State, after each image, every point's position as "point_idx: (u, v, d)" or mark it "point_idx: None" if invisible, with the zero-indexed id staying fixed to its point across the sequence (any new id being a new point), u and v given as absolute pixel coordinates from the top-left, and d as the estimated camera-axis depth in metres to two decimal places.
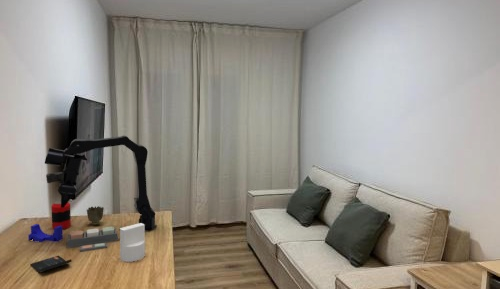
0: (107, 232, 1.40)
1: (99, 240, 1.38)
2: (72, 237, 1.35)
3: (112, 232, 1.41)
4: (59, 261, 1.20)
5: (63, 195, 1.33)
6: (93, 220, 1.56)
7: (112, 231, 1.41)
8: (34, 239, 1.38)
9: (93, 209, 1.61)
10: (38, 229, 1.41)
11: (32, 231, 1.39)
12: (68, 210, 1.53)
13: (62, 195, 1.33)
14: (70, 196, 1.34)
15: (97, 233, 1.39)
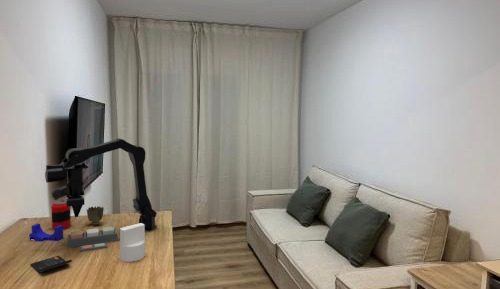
0: (107, 232, 1.40)
1: (99, 240, 1.38)
2: (72, 237, 1.35)
3: (112, 232, 1.41)
4: (59, 261, 1.20)
5: (74, 205, 1.34)
6: (93, 220, 1.56)
7: (112, 231, 1.41)
8: (35, 239, 1.38)
9: (93, 209, 1.61)
10: (39, 229, 1.41)
11: (33, 231, 1.40)
12: (68, 210, 1.53)
13: (73, 205, 1.34)
14: (81, 205, 1.35)
15: (97, 233, 1.39)
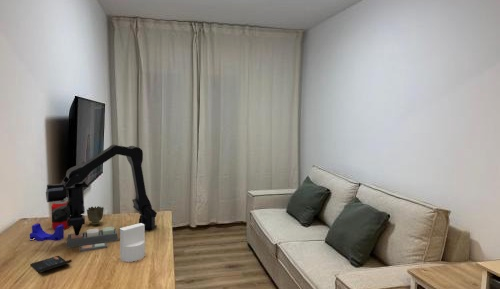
0: (107, 232, 1.40)
1: (99, 240, 1.38)
2: None
3: (112, 232, 1.41)
4: (59, 261, 1.20)
5: None
6: (93, 220, 1.56)
7: (112, 231, 1.41)
8: (35, 238, 1.39)
9: (93, 209, 1.61)
10: (39, 228, 1.42)
11: (33, 230, 1.40)
12: None
13: None
14: None
15: (97, 233, 1.39)
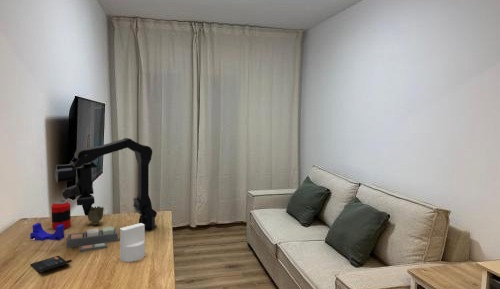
0: (107, 232, 1.40)
1: (99, 240, 1.38)
2: None
3: (112, 232, 1.41)
4: (59, 261, 1.20)
5: (84, 204, 1.36)
6: (93, 220, 1.56)
7: (112, 231, 1.41)
8: (36, 238, 1.39)
9: (93, 209, 1.61)
10: (40, 228, 1.42)
11: (34, 230, 1.40)
12: (68, 210, 1.53)
13: (83, 204, 1.35)
14: (90, 203, 1.36)
15: (97, 233, 1.39)
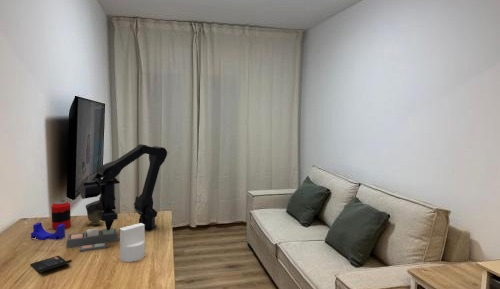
0: (107, 233, 1.41)
1: (99, 240, 1.38)
2: None
3: (112, 233, 1.41)
4: (59, 261, 1.20)
5: None
6: (93, 220, 1.56)
7: (112, 232, 1.41)
8: (37, 237, 1.39)
9: None
10: (40, 228, 1.42)
11: (34, 230, 1.41)
12: (68, 210, 1.53)
13: None
14: None
15: (97, 233, 1.39)
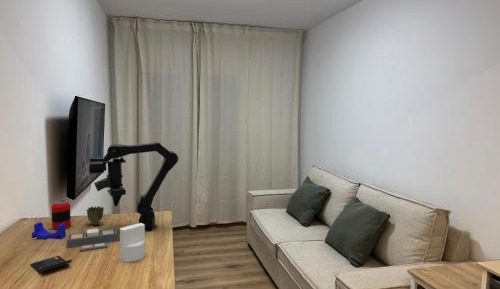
0: None
1: (99, 240, 1.38)
2: None
3: None
4: (59, 261, 1.20)
5: (114, 196, 1.48)
6: (93, 220, 1.56)
7: None
8: (37, 237, 1.40)
9: (93, 209, 1.61)
10: (41, 227, 1.43)
11: (35, 229, 1.41)
12: (68, 210, 1.53)
13: (113, 196, 1.48)
14: (120, 195, 1.49)
15: (97, 233, 1.39)
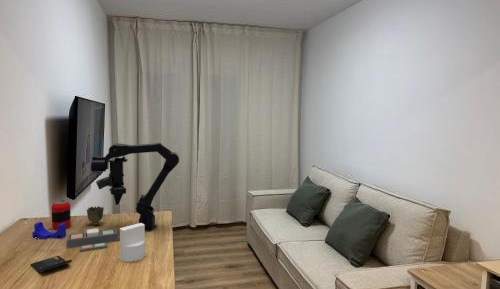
0: None
1: (99, 240, 1.38)
2: None
3: None
4: (59, 261, 1.20)
5: (115, 194, 1.50)
6: (93, 220, 1.56)
7: None
8: (38, 237, 1.40)
9: (93, 209, 1.61)
10: (41, 227, 1.43)
11: (36, 229, 1.42)
12: (68, 210, 1.53)
13: (114, 194, 1.49)
14: (121, 194, 1.51)
15: (97, 233, 1.39)
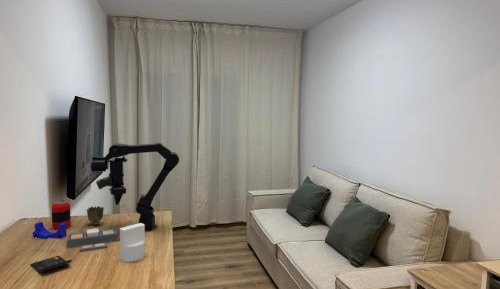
0: None
1: (99, 240, 1.38)
2: None
3: None
4: (59, 261, 1.20)
5: (115, 194, 1.50)
6: (93, 220, 1.56)
7: None
8: (38, 236, 1.41)
9: (93, 209, 1.61)
10: (42, 227, 1.44)
11: (36, 229, 1.42)
12: (68, 210, 1.53)
13: (114, 194, 1.49)
14: (121, 194, 1.51)
15: (97, 233, 1.39)
